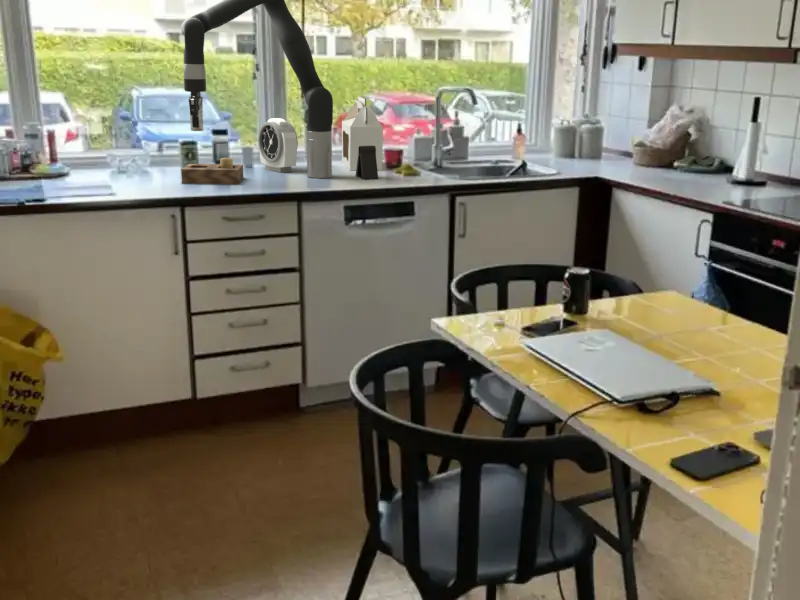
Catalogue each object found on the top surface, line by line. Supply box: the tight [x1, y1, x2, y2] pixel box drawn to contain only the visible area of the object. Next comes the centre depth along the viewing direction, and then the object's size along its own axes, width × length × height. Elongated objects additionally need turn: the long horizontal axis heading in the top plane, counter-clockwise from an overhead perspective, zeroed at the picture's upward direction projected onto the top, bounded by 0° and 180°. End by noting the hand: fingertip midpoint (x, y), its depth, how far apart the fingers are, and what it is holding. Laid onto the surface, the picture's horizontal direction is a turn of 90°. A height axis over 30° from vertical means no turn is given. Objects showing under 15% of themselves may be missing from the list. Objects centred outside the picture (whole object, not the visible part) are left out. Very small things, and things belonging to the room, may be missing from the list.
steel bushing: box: [189, 107, 204, 132], centre depth 305 cm, size 4×4×8 cm
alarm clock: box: [257, 117, 299, 173], centre depth 337 cm, size 18×8×20 cm, turn 42°
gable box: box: [341, 96, 384, 172], centre depth 350 cm, size 22×13×28 cm, turn 12°
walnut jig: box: [180, 157, 245, 185], centre depth 311 cm, size 20×14×8 cm
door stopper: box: [355, 146, 379, 181], centre depth 325 cm, size 9×6×12 cm, turn 22°
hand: (197, 126), depth 306 cm, fingers closed on steel bushing, 4 cm apart
